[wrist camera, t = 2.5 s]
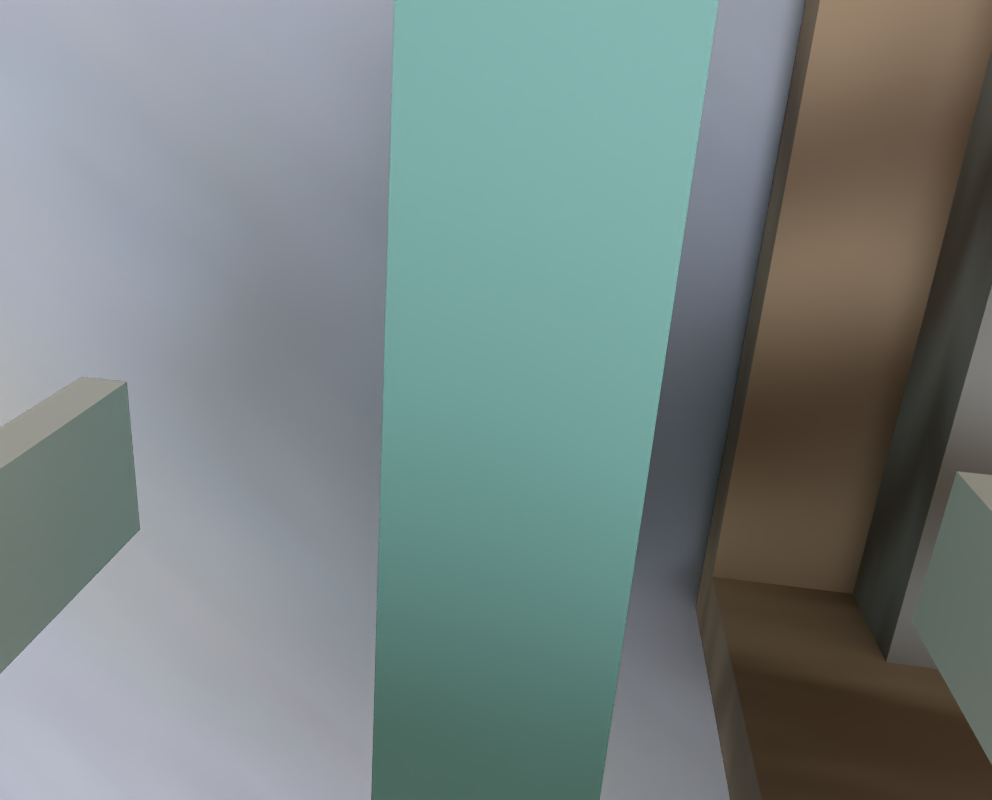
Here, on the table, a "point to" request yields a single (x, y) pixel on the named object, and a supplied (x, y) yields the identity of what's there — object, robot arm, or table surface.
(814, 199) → the wooden rack
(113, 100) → the table surface
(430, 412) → the door panel
